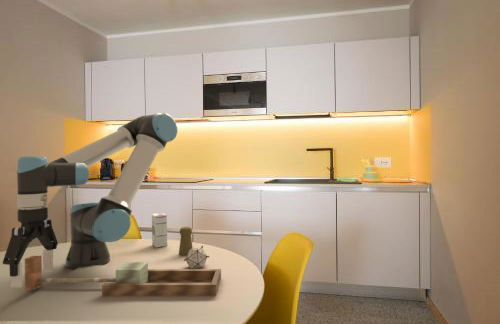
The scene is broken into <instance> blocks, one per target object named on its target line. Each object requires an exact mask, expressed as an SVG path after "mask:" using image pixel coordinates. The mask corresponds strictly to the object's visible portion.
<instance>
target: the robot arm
mask: <svg viewBox="0 0 500 324" xmlns="http://www.w3.org/2000/svg"><path fill="white" fill-rule="evenodd" d="M177 134H178V126H177V122H176V121H175V119H174V117H173V116H171V114H168V113H166V112H157V113H154V114H149V115H141V116H138V117H137V118H134V119H132V120H131V121H129V122H127V123H125V124H123V125H122V126H119V127H118V128H117V131H114V132H111V133H110V134H108V135H106V136H104V137H102V138H100V139H97V140H95V141H93V142H90V143H88V144H87V145H84V146H82V147H80V148H78V149H75V150H74V151H71V152H69V153H68V154H66V155H63V156H61V157H59V158H57V159H55V160H52V161H51V162H50V161H48V158H47V157H46V156H21V157H19V158H18V160H17V167H16V175H17V176H16V179H17V180H16V182H17V194H16V196H17V198H16V200H17V201H16V202H17V203H16V206H17V207H16V208H18V209H17V222H19V223H20V224H21V225H20V227H12V228H11V235H10V239H9V242H8V244H7V248H6V251H5V254H4V257H3V260H2V264H3V265H9V277H10V288H22V287H23V263H22V262H21V260H22V258H23V256H24V254H25V252H26V250H27V248H28V246H29V244H30V243H31V242H33V240H35V239H37V240H38V241H39V242H40V244H41V245H42V247H43V248H44V249H43V250H42V271H44V272H45V271H46V272H49V271H53V270H54V261H53V260H54V250H57V248H58V245H59V242H58V239H57V237H56V234H55V231H54V229H53V225H52V223H53V222H52V219H48V216H49V213H48V211H49V209H48V207H46V206H48V192H49V191H48V188H53V187H69V186H72V187H73V186H75V187H77V186H81V185H82V186H83V185H86V184H87V183H88V181H89V180H90V179H89V177H90V170H89V167H92V166H94V165H95V164H97V163H99V162H101V161H103V160H104V159H106V158H108V157H111V156H112V155H114V154H117V153H118V152H120V151H122V150H124V149H126V148H129V149H130V148H133V147H134V148H133V150H132V152H131V153H130V155H129V157H128V159H127V161H126V162H125V164H124V166H123V168H122V170H121V171H120V173H119V176H118V177H117V179H116V180H115V182H114V184H113V185H112V188H111V189H110V191H109V193H108V195H106V196H103V197H101V198H100V200H99V201H95V202H86V203H78V204H73V205H71V208H70V215H69V216H70V247H69V249H68V253H67V254H66V258H65V267H66V268H67V269H72V270H76V269H77V268H81V267H82V268H83V267H84V268H86V267H92V266H103V265H106V264H108V263H109V262H110V261H111V254H110V251H109V248H108V245H107V243H114V242H118V241H120V240H121V239H123V238H124V237H125V236H127V234H128V232H129V230H130V228H131V223H132V221H131V217H130V216H131V213H132V211H133V209H132V207H131V205H132V203H133V200H134V199H135V197H136V196H137V193H138V191H139V189H140V187H141V185H142V183H143V181H144V180H145V178H146V175H147V174H148V172H149V171H150V169H151V166H152V164H153V162H154V160H155V158H156V156H157V155H158V153H159V152H162V151H164V149H165V148H166V145H167V144H168V143H170V142H172V141H173V140H175V139H176V137H177Z"/></svg>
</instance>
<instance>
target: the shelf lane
mask: <svg viewBox="0 0 500 324" xmlns="http://www.w3.org/2000/svg"><path fill="white" fill-rule="evenodd" d="M221 280H222V269H221V268H194V269H190V268H173V269H172V268H168V269H167V268H164V269H163V268H159V269H158V268H157V269H156V268H154V269H153V268H151V269H150V268H148V282H147V283H116V282H103V284H102V285H101V291H102V292H101V294H102V295H101V296H102V297H173V296H174V297H176V296H177V297H184V296H185V297H188V296H189V297H191V296H192V297H193V296H194V297H195V296H196V297H197V296H199V297H200V296H201V297H202V296H203V297H204V296H205V297H208V296H209V297H210V296H211V297H212V296H213V297H214V296H216V297H217V295H218V291H219V287H220V284H221Z"/></svg>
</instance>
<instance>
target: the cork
mask: <svg viewBox="0 0 500 324" xmlns="http://www.w3.org/2000/svg"><path fill="white" fill-rule="evenodd" d="M192 234H193V229H192V227H189V226H183V227H181V228H180V229H179V235H180V239H179V247H178V248H179V250H178V255H179V256H186V257H187V254H188V252H189V248H188V247H190V249H192V248H194V247H193V241H192Z"/></svg>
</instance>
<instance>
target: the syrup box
mask: <svg viewBox="0 0 500 324" xmlns="http://www.w3.org/2000/svg"><path fill="white" fill-rule="evenodd" d="M151 236H152V237H151V238H152V239H151V240H152V243H151V244H152V246H153V247H155V248H162V247H161V246H163V247H167V246H168V215H167V214H165V213H163V212H157V213H152V214H151Z"/></svg>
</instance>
